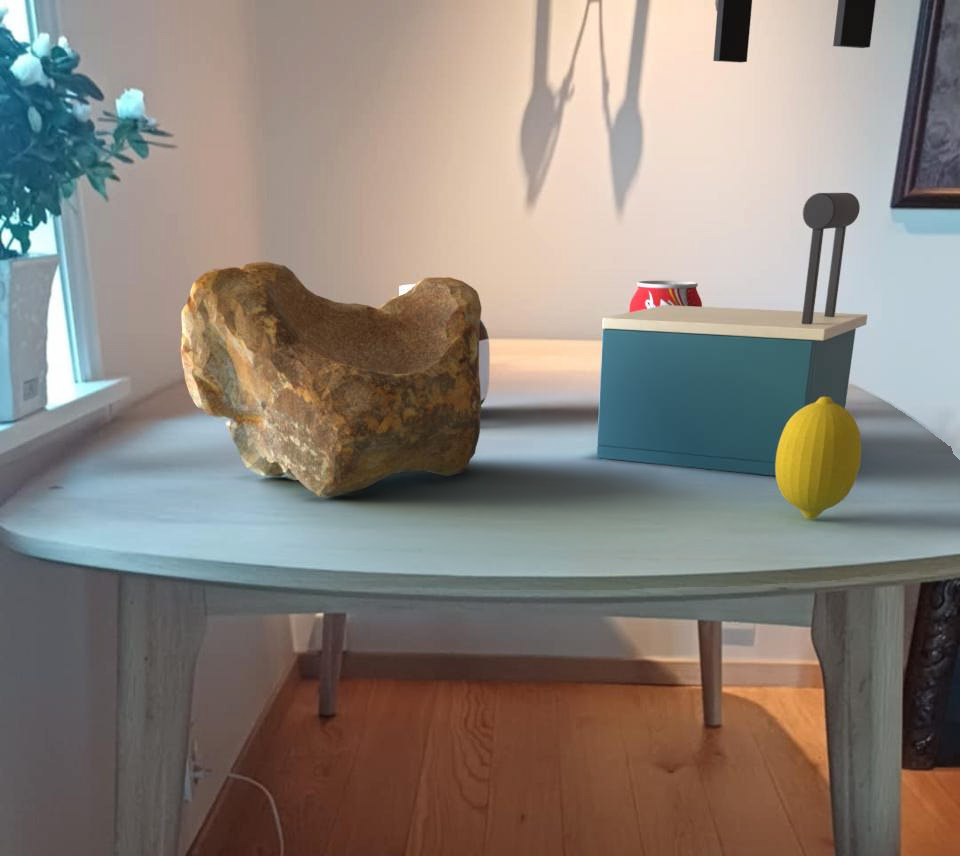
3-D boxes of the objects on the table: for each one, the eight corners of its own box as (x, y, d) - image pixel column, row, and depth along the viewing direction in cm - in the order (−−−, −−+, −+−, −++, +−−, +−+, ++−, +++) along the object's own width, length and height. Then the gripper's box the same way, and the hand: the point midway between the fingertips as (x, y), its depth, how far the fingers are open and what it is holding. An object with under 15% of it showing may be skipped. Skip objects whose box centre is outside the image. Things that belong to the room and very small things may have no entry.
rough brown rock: (213, 527, 86) (202, 292, 78) (182, 461, 99) (169, 254, 92) (528, 514, 93) (547, 297, 85) (460, 454, 107) (470, 262, 99)
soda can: (618, 418, 123) (625, 284, 117) (627, 407, 129) (635, 279, 123) (690, 421, 121) (701, 285, 116) (697, 410, 127) (707, 280, 122)
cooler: (839, 449, 109) (856, 325, 104) (796, 478, 98) (813, 341, 93) (655, 432, 116) (663, 315, 111) (596, 457, 105) (602, 329, 100)
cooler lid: (866, 324, 104) (884, 192, 99) (823, 341, 93) (842, 193, 88) (663, 314, 111) (672, 191, 107) (602, 328, 100) (608, 191, 96)
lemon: (794, 531, 83) (809, 404, 79) (755, 512, 88) (767, 392, 84) (867, 525, 84) (886, 400, 81) (825, 507, 89) (841, 388, 85)
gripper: (668, -280, 91) (648, 64, 101) (924, -405, 72) (868, 36, 82) (750, -264, 94) (723, 68, 104) (1016, -380, 75) (952, 42, 85)
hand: (787, 55), depth 93 cm, fingers open, 13 cm apart
